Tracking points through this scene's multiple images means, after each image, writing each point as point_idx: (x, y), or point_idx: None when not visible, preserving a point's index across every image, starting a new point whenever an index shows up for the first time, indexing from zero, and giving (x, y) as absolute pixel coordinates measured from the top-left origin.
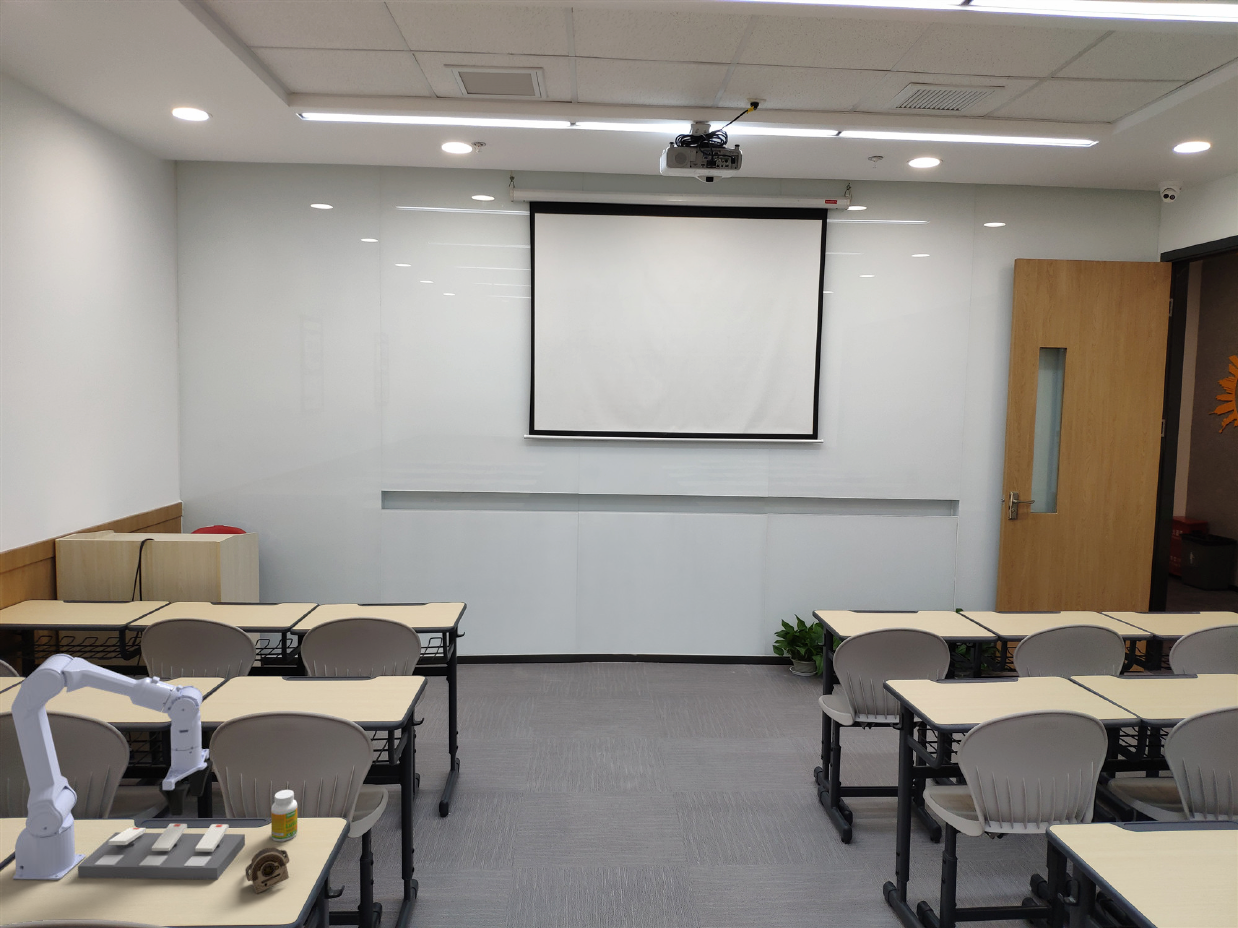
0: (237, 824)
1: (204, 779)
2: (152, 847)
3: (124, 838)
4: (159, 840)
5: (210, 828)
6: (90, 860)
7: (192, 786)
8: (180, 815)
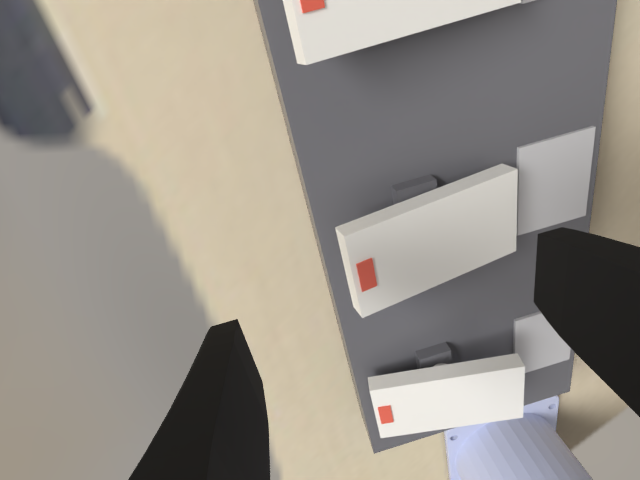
0: (33, 70)
1: (201, 465)
2: (514, 247)
3: (495, 386)
4: (474, 257)
5: (345, 39)
6: (538, 386)
7: (262, 463)
8: (567, 228)
